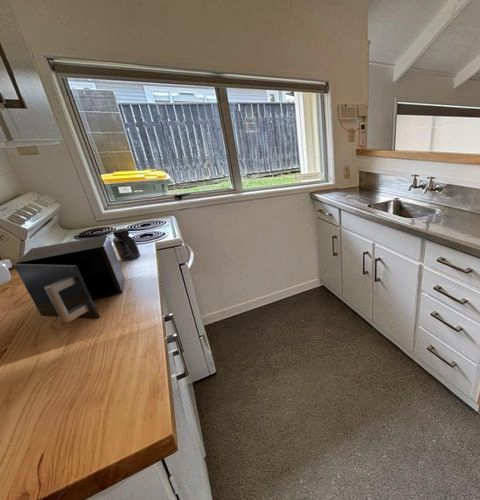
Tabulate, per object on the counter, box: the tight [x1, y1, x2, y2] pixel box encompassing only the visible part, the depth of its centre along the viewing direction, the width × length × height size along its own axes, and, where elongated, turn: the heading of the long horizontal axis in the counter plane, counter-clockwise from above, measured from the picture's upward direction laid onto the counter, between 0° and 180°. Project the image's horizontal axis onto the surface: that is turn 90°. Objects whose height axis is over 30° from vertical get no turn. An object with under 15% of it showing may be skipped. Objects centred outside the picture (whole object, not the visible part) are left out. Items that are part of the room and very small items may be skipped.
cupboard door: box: [13, 263, 101, 324], centre depth 72 cm, size 7×18×16 cm, turn 83°
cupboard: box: [15, 234, 126, 302], centre depth 86 cm, size 13×18×16 cm
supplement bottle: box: [112, 228, 141, 262], centre depth 113 cm, size 7×7×12 cm
